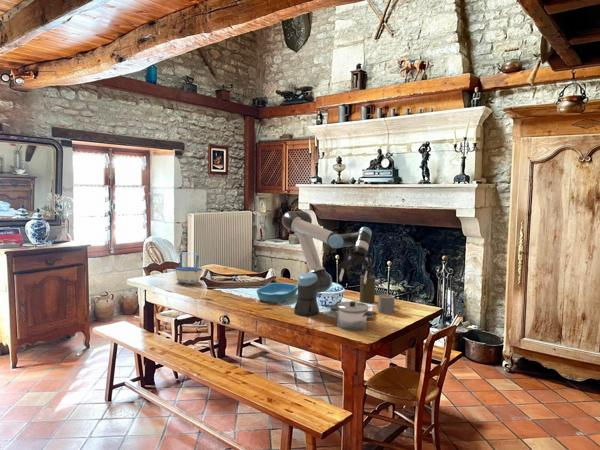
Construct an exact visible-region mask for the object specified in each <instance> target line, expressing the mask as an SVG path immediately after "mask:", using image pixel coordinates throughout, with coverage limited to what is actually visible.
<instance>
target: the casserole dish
mask: <svg viewBox="0 0 600 450" xmlns="http://www.w3.org/2000/svg"><path fill="white" fill-rule="evenodd" d="M255 290H256V294H257V296H258V299H259V300H260V301H262V302H270V303H276V302H277V304H279V303H278V302H280V303H283V301H284V302H286V301H288V300H289V299H291V298H292V297H294V296H295V295H296V294H297V293H298V284H294V283H289V282H271V283H268V284H266V285H264V286H261V287H260V288H257V289H255ZM287 299H288V300H287Z"/></svg>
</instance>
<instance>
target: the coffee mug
mask: <svg viewBox="0 0 600 450" xmlns="http://www.w3.org/2000/svg"><path fill="white" fill-rule="evenodd" d="M377 298H378V299H377V301H378V302H377V312H378V313H380V314H383V315H392V314H395V295H393V294H392V295H391V294H386V293H385V294H383V293H382V294H378V297H377Z"/></svg>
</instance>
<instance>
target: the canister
mask: <svg viewBox="0 0 600 450" xmlns="http://www.w3.org/2000/svg"><path fill="white" fill-rule="evenodd" d="M364 277H365V274H362V275H360V286H359V288H360V289H359V303H363V304H373V303H375V302H376V301H375V299H376V298H375V296H376V295H375V294H376V292H375V291H376V278H377V277H376V276H375V275H372V273H370V276H369V278H367V281H366V284H364Z"/></svg>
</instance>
